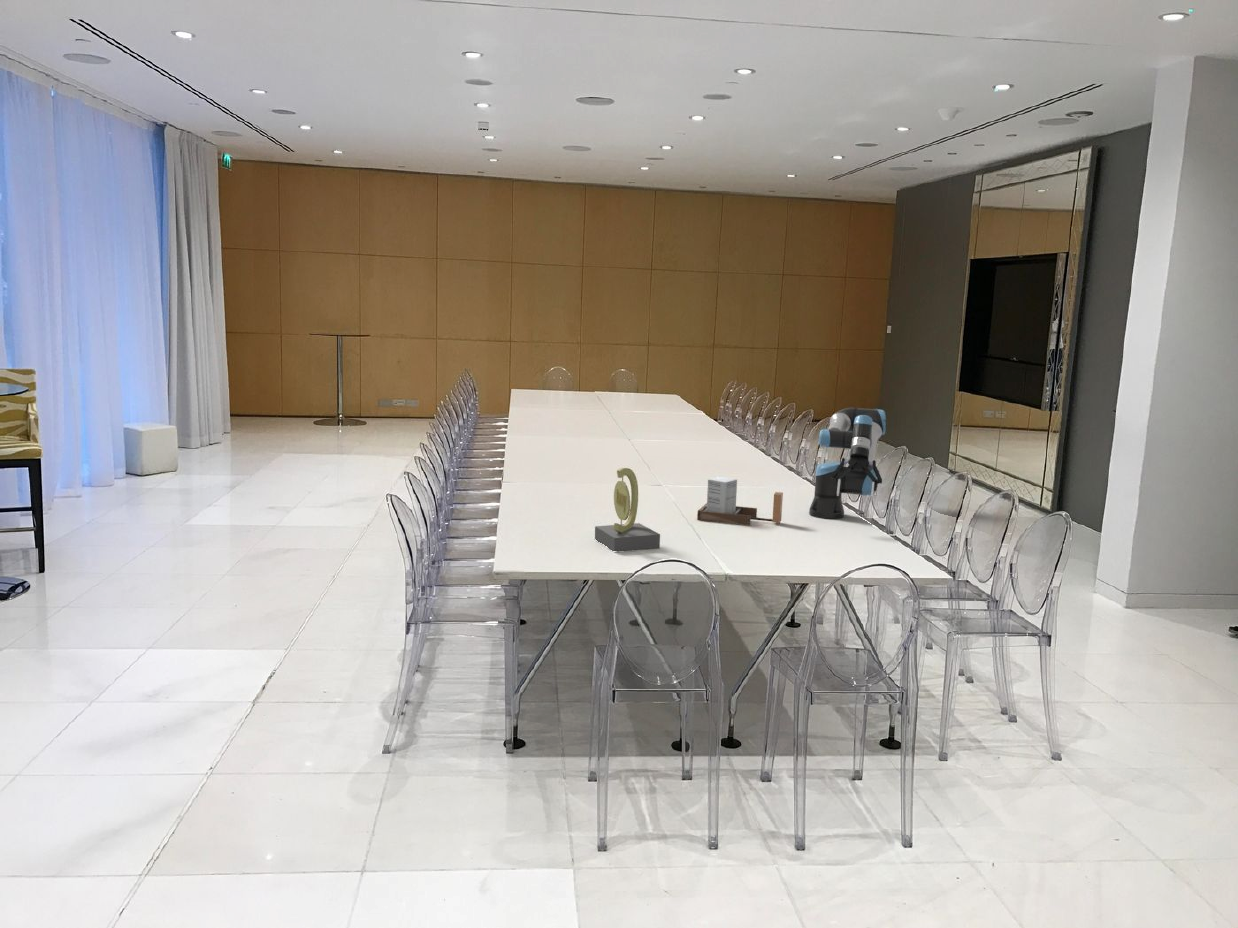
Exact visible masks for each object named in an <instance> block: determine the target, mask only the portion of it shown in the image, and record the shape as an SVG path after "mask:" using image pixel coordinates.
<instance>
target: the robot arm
mask: <svg viewBox="0 0 1238 928" xmlns="http://www.w3.org/2000/svg"><path fill="white" fill-rule="evenodd" d="M886 420H887V419H886V412H885V410H883V409H878V408H861V407H846V408H843V409H840V410H838V411H836V412H835V413H833V414H832V415H831V417H830V420H829V426H828V428H826V429H821V430H820V431H819V436H818V444H819V446H820V447H824V448H835V449H837V448H838V449H847V450H850V453H849V454H850V455H849V459H846V458H845V457H842V458H841V461H839V462H838V461H834V462H832V461H830V462H823V463H820V464H818V465H817V466H816V470H815V474H814V476H815V481H814V482H815V483H814V484H815V485H814V496H813V499H812V502H811V504H810V506H809V511H808V514H809V516H812V517H816V518H821V519H828V520H829V519H836V520H837V519H841V518H844V517H845V509H844V508H845V507H844V506H843V505H844V504H843V500H842V494H849V495H860V496H870V499H871V500H874V495H875V494H876V492H877V490H878V486H879V484H880V485H881V484H883V478H882V476H881V474H880V470H879V469H878V467H877V461H876V452H877V445H878V440H879V439H880V438H881V437H882V436H884V435H885V434H886ZM847 464H848V465H847ZM845 465H847V466H845Z"/></svg>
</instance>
